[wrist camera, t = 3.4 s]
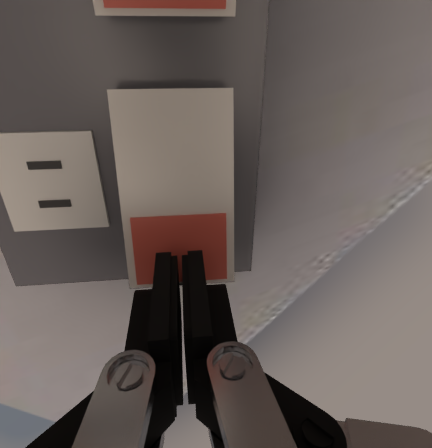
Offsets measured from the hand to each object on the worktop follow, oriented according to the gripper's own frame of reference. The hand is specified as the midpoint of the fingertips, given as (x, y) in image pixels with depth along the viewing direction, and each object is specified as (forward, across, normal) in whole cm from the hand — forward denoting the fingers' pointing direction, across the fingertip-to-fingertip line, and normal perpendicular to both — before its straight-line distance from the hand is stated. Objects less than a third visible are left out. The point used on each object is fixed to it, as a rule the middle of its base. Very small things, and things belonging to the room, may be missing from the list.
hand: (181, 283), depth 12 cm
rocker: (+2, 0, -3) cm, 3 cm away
